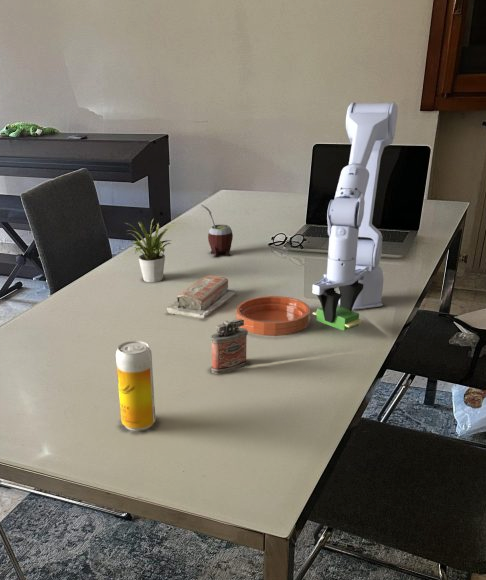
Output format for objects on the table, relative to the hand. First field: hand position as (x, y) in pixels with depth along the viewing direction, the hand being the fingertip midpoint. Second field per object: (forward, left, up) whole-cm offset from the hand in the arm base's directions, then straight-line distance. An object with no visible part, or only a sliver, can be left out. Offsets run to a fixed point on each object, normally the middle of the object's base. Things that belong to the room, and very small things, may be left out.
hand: (337, 318), depth 159 cm
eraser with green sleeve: (0, 0, -1) cm, 1 cm away
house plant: (+32, -50, -4) cm, 60 cm away
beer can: (+49, +26, -4) cm, 56 cm away
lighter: (+27, +9, -4) cm, 29 cm away
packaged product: (+23, -27, -4) cm, 36 cm away
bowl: (+11, -10, -4) cm, 15 cm away
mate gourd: (+8, -64, -4) cm, 65 cm away
